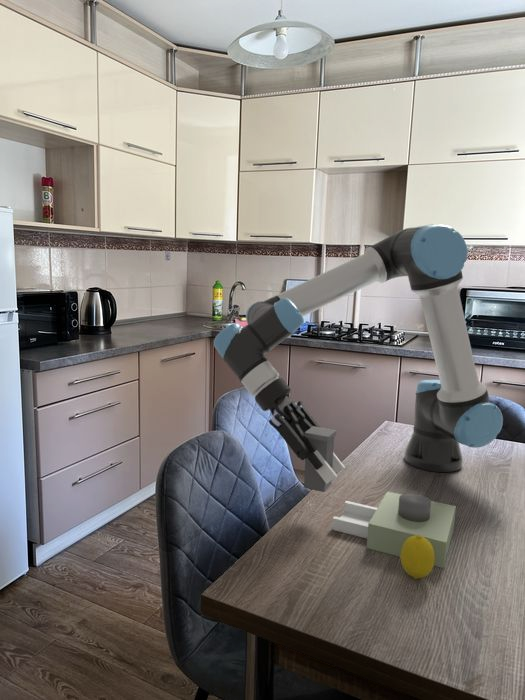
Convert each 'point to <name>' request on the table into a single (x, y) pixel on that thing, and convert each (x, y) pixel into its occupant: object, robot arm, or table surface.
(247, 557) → the table surface
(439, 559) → the green block with knob
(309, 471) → the gray capped pillar
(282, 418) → the robot arm
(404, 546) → the lemon
